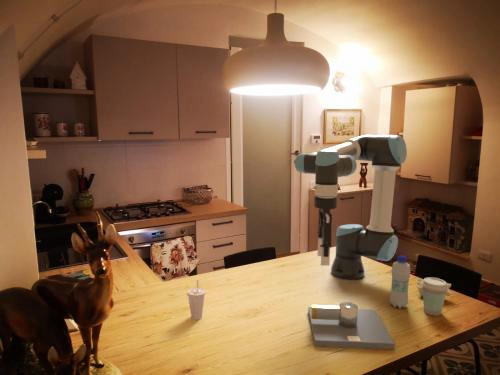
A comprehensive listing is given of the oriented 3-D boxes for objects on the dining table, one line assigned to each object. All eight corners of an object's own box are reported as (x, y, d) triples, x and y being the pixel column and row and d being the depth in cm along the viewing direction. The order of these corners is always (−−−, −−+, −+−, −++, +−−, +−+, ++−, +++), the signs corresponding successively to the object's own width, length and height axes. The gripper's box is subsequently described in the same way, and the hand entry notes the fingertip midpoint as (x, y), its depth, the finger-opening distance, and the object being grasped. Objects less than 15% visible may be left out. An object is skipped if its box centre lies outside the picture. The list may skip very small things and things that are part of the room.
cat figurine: (417, 276, 156) (449, 274, 150) (422, 290, 158) (453, 289, 151) (415, 288, 150) (448, 287, 143) (420, 303, 151) (453, 302, 145)
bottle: (409, 310, 139) (413, 259, 136) (390, 309, 140) (394, 257, 137) (405, 302, 145) (409, 253, 142) (387, 301, 146) (391, 252, 144)
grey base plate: (308, 312, 137) (308, 306, 136) (374, 314, 135) (375, 308, 135) (315, 346, 115) (315, 339, 115) (394, 349, 114) (394, 342, 113)
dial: (354, 319, 128) (355, 302, 127) (358, 328, 122) (359, 310, 121) (310, 317, 129) (311, 300, 128) (312, 326, 123) (312, 309, 122)
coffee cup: (450, 316, 135) (453, 285, 133) (429, 318, 133) (431, 286, 131) (435, 305, 143) (437, 276, 141) (414, 307, 141) (417, 277, 140)
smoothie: (200, 323, 128) (200, 284, 126) (184, 319, 130) (183, 281, 128) (208, 314, 134) (208, 277, 132) (193, 311, 136) (192, 275, 134)
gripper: (311, 191, 137) (309, 250, 140) (318, 201, 116) (315, 271, 119) (332, 191, 136) (329, 251, 140) (342, 202, 115) (339, 272, 119)
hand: (323, 260), depth 129 cm, fingers open, 9 cm apart
